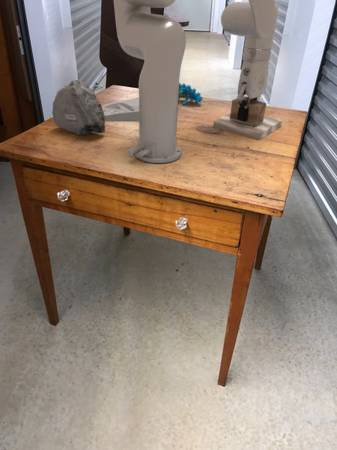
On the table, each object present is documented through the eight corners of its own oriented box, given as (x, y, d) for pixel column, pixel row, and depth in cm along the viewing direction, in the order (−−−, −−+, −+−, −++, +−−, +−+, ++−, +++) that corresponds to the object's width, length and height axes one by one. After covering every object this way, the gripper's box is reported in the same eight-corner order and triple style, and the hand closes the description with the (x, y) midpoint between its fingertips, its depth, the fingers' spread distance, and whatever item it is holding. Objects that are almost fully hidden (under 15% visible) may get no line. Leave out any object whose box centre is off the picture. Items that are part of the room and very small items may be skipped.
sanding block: (255, 126, 108) (259, 106, 105) (229, 119, 113) (232, 100, 109) (262, 122, 112) (266, 103, 108) (237, 115, 116) (240, 97, 113)
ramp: (84, 120, 116) (82, 103, 113) (103, 106, 128) (102, 90, 125) (168, 130, 111) (169, 113, 108) (179, 115, 123) (180, 99, 120)
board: (259, 139, 106) (260, 133, 105) (213, 127, 113) (213, 120, 112) (281, 126, 116) (282, 120, 115) (237, 115, 124) (238, 109, 123)
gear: (208, 101, 131) (193, 82, 124) (200, 114, 131) (184, 97, 124) (188, 98, 139) (173, 80, 132) (180, 110, 139) (165, 94, 132)
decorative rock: (108, 136, 104) (105, 82, 95) (92, 143, 99) (87, 87, 90) (67, 124, 111) (60, 72, 102) (51, 130, 106) (42, 76, 97)
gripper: (255, 60, 94) (244, 128, 104) (281, 52, 105) (269, 114, 116) (230, 56, 98) (222, 122, 108) (257, 49, 109) (248, 109, 119)
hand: (246, 117), depth 112 cm, fingers closed on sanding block, 5 cm apart
